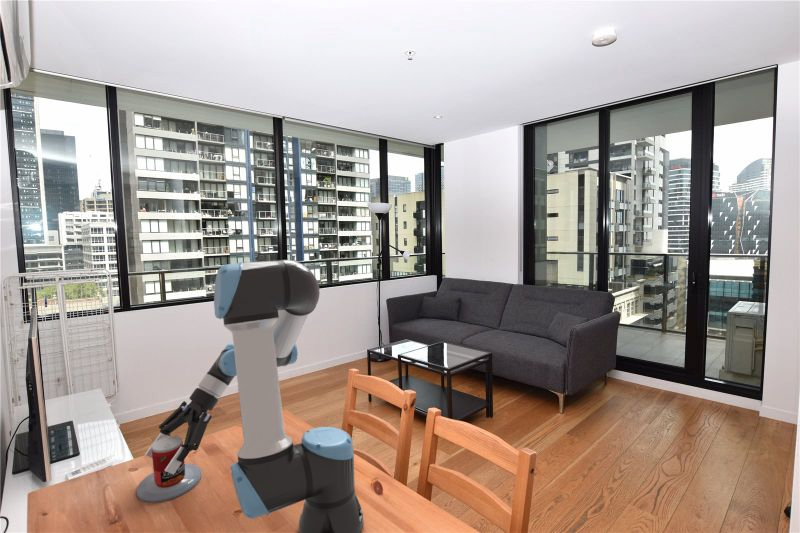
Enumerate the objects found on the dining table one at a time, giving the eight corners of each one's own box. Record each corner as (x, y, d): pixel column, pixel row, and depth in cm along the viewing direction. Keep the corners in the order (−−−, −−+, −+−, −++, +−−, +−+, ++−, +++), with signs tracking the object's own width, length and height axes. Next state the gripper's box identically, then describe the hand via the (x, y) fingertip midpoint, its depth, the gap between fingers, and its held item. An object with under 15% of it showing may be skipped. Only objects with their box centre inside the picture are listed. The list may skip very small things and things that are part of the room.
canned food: (162, 492, 112) (159, 453, 111) (149, 481, 117) (146, 444, 116) (190, 477, 118) (187, 441, 117) (177, 468, 123) (174, 432, 122)
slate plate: (210, 481, 118) (210, 478, 118) (147, 511, 107) (147, 507, 106) (189, 460, 129) (188, 457, 129) (129, 485, 117) (129, 481, 117)
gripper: (239, 408, 120) (190, 484, 110) (198, 389, 135) (151, 454, 125) (220, 397, 115) (167, 475, 105) (179, 378, 130) (129, 445, 120)
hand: (158, 464), depth 115 cm, fingers open, 12 cm apart
